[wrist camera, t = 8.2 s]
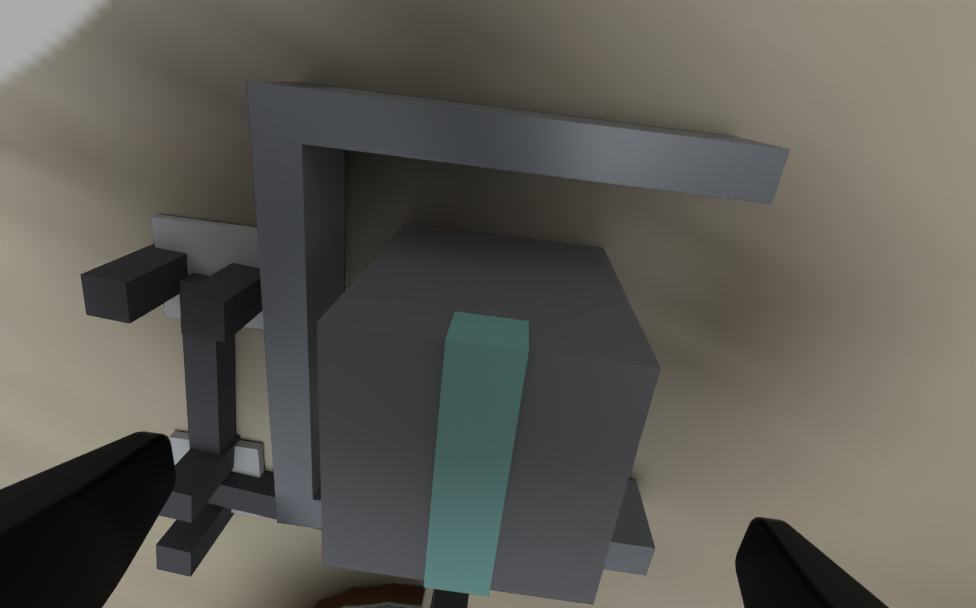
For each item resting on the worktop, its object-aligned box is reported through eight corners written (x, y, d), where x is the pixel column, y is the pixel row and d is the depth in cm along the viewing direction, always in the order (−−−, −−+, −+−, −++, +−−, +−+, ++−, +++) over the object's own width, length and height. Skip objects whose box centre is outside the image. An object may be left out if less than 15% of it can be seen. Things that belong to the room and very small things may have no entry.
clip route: (499, 570, 17) (495, 644, 15) (190, 526, 18) (139, 592, 15) (552, 266, 13) (558, 304, 11) (139, 211, 13) (58, 237, 11)
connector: (568, 413, 15) (593, 611, 9) (398, 390, 15) (320, 572, 9) (603, 245, 13) (663, 368, 7) (406, 220, 13) (313, 322, 7)
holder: (628, 504, 16) (645, 575, 14) (312, 460, 16) (277, 522, 14) (737, 137, 11) (790, 149, 9) (301, 82, 12) (247, 81, 9)
